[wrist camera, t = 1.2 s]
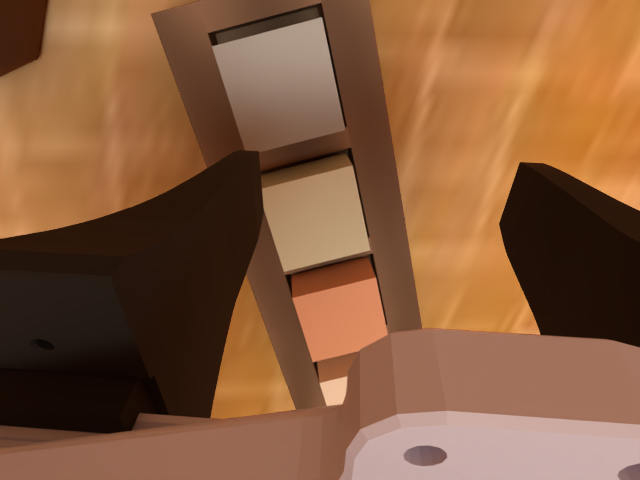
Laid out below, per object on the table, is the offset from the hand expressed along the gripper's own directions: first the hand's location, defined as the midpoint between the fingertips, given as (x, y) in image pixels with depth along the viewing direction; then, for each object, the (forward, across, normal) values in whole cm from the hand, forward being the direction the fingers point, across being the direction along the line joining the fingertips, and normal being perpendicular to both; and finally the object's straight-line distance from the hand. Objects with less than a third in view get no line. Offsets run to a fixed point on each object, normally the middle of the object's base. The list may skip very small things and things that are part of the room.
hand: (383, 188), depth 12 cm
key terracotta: (+7, +1, +11) cm, 13 cm away
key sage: (+8, +3, +6) cm, 10 cm away
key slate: (+9, +4, 0) cm, 10 cm away
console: (+10, +2, +9) cm, 14 cm away
